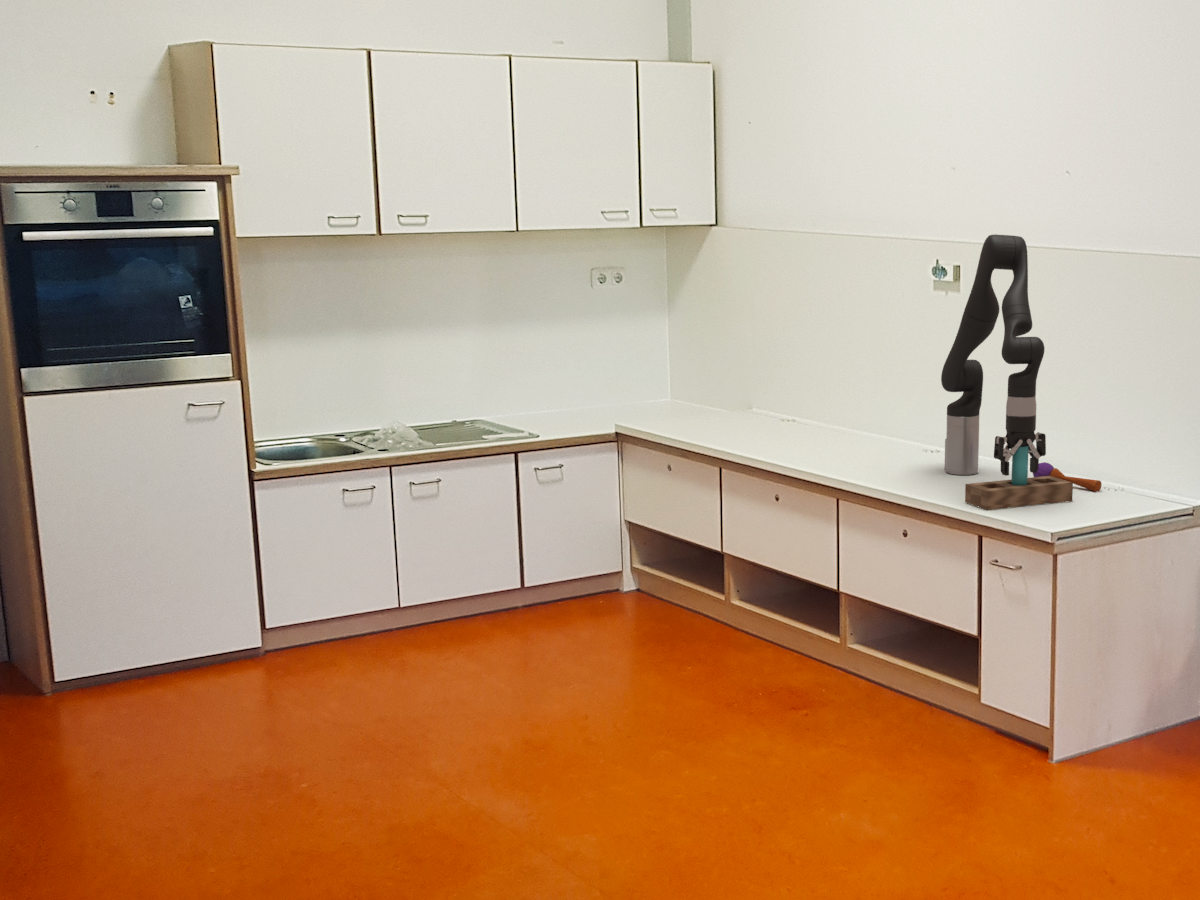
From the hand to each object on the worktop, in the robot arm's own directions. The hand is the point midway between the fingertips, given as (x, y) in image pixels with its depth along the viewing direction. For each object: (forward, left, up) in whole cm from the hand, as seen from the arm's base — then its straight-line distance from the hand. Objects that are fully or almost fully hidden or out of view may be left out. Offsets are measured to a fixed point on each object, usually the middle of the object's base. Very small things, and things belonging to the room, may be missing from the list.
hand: (1019, 473), depth 353 cm
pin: (0, 0, -7) cm, 7 cm away
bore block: (0, 0, -8) cm, 8 cm away
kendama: (-12, +23, -8) cm, 27 cm away
